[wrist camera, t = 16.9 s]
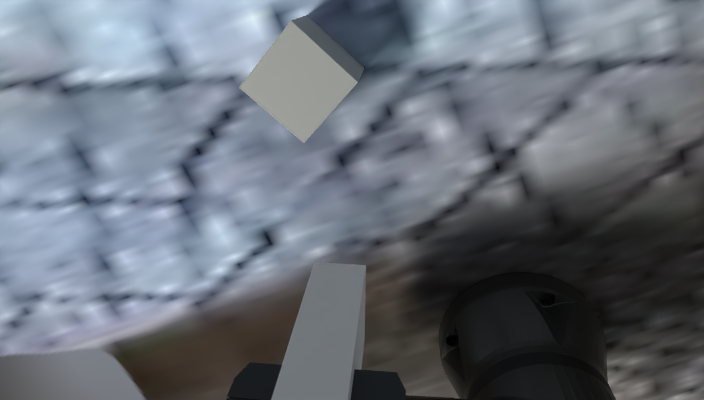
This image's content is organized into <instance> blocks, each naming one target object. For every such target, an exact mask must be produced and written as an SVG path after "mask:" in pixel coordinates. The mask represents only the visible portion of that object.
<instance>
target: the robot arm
mask: <svg viewBox="0 0 704 400" xmlns="http://www.w3.org/2000/svg"><path fill="white" fill-rule="evenodd" d="M365 285H366V265H351V264H333V263H316V262H314V265H313V268H312V272H311V275H310V278H309V281H308V284H307V287H306V291H305V294H304V297H303V300H302V303H301V306H300V310H299V313H298V316H297V319H296V322H295V325H294V329H293V332H292V335H291V338H290V341H289V345H288V348H287V351H286V354H285V357H284V360H283V364H282V365H275V364H262V363H249V364H248V365H247V366H246V367H245V368H244V369H243V370H242V371H241V372H240V373H239V374H238V375H237V376H236V377H235V379H234V381H233V383H232V386H231V388H230V391H229V393H228V395H227V400H616V398H615V396H614V395H613V393H612V391H611V389H610V387H609V384H608V379H607V360H606V342H605V336H604V332H603V329H602V326H601V324H600V322H599V320H598V318H597V316H596V314H595V312H594V311H593V309H592V307H591V306H590V304H589V302H588V301H587V300H586V299H585V298H584V296H583V295H582V294H580V293H579V292H578V291H577V290H576V289H574V288H573V287H571V286H570V285H568V284H566V283H565V282H562V281H560V280H558V279H555V278H552V277H549V276H545V275H540V274H533V273H512V274H505V275H500V276H496V277H492V278H489V279H486V280H484V281H481V282H479V283H477V284H475V285H474V286H472V287H470V288H469V289H467V290H466V291H464V292H463V293H462V294H461V295H459V296H458V297H457V298H456V299H455V300H454V301H453V303H452V304H451V305H450V306H449V308H448V309H447V311H446V313H445V315H444V317H443V319H442V322H441V325H440V330H439V347H440V356H441V361H442V365H443V368H444V371H445V373H446V375H447V377H448V379H449V380H450V382H451V384H452V386H453V387H454V389H455V391H456V393H457V394H458V396H459V398H460V399H455V398H444V397H426V396H408V395H406V390H405V388H404V386H403V384H402V382H401V380H400V378H399V376H398V374H397V372H384V371H371V370H361V366H362V357H363V348H364V338H365Z"/></svg>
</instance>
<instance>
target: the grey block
mask: <svg viewBox="0 0 704 400" xmlns="http://www.w3.org/2000/svg"><path fill="white" fill-rule="evenodd" d="M363 71H364V68H363V67H362V66H361V65H360V64H359V63H358V62H357V61H356V60H355V59H354V58H353V57H352V56H351V55H349V54H348V53H347V52H346V51H345V50H344V49H343V48H342V47H341V46H340V45H339V44H338V43H337V42H336V41H334V40H333V39H332V38H331V37H330V36H329V35H328V34H327V33H326V32H325V31H324V30H323V29H322V28H321V27H319V26H318V25H317V24H316V23H315V22H314V21H313V20H312V19H311V18H310V17H309V16H308V15H306V16H303V17H300V18H297V19H295V20H292V21H290V23H289V24H288V25H287V27H286V28H285V29H284V30H283V32H282V33H281V34H280V36H279V37H278V38H277V39H276V41H275V42H274V43H273V45H272V46H271V47H270V48H269V50H268V51H267V52H266V54H265V55H264V56H263V57H262V59H261V60H260V61H259V63H258V64H257V65H256V66H255V68H254V69H253V70H252V72H251V73H250V74H249V76H248V77H247V78H246V79H245V81H244V82H243V83H242V85H241V86H240V87H239V88H240V89H241V90H243V91H244V92H245V93H246V94H247V95H248V96H250V97H251V98H252V99H253V100H254V101H255V102H257V103H258V104H259V105H260V106H261V107H262V108H264V109H265V110H266V111H267V112H268V113H269V114H271V115H272V116H273V117H274V118H275V119H276V120H277V121H279V122H280V123H281V124H282V125H283V126H284V127H286V128H287V129H288V130H289V131H290V132H291V133H293V134H294V135H295V136H296V137H297V138H298V139H300V140H301V141H302V142H303V143H304V142H305V141H306V140H307V139H308V138H309V137H310V136H311V135H312V133H313V132H314V131H315V130H316V129H317V128H318V127H319V126H320V124H321V123H322V122H323V121H324V120H325V119H326V118H327V117H328V115H329V114H330V113H331V112H332V111H333V110H334V109H335V108H336V107H337V105H338V104H339V103H340V102H341V101H342V100H343V99H344V98H345V96H346V95H347V94H348V93H349V92H350V91H351V90H352V89H353V87H354V86H355V85H356V84H357V83H358V81H359V79H360V77H361V75H362V73H363Z"/></svg>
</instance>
